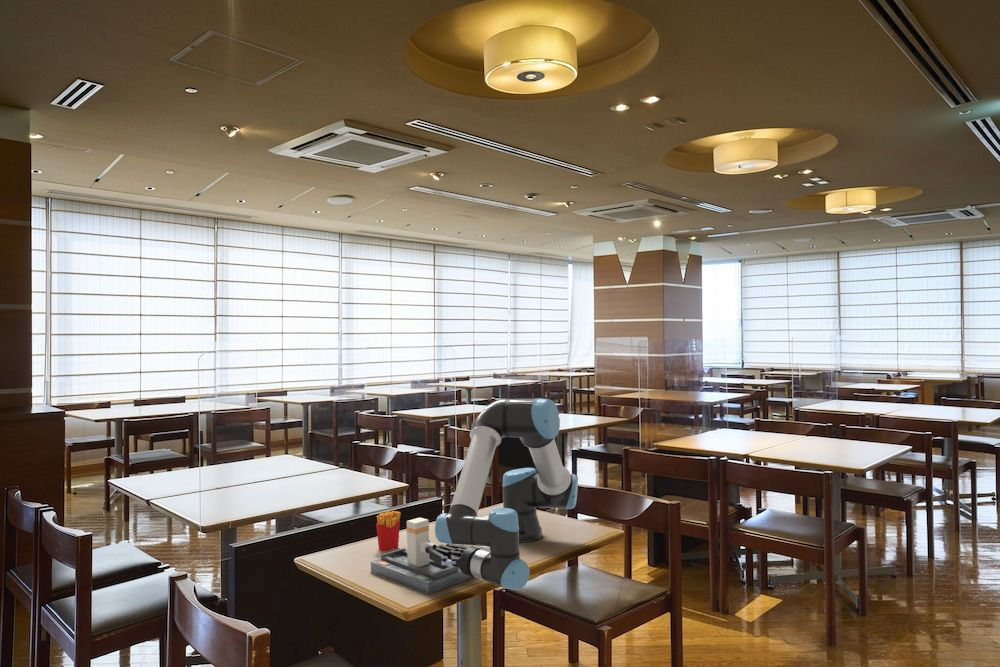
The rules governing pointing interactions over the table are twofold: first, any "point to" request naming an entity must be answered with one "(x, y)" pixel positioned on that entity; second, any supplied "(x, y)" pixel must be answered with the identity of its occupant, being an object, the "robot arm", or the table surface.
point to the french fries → (388, 530)
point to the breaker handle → (417, 541)
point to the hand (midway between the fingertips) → (422, 545)
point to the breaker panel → (417, 572)
